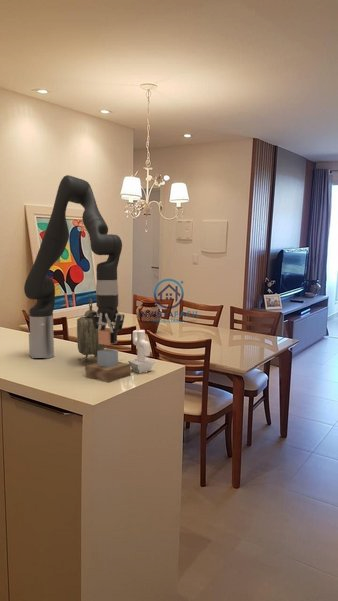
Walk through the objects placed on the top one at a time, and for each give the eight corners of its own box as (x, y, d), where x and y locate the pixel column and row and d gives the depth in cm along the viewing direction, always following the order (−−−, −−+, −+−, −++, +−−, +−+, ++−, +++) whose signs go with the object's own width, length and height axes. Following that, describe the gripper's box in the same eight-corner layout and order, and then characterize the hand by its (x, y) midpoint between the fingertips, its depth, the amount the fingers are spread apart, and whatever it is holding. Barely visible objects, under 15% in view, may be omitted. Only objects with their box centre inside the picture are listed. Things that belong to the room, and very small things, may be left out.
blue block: (97, 365, 158) (97, 350, 158) (107, 362, 162) (107, 348, 162) (107, 367, 155) (107, 352, 155) (118, 364, 159) (117, 350, 159)
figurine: (139, 375, 160) (139, 333, 159) (126, 369, 168) (125, 329, 166) (156, 372, 164) (156, 331, 163) (143, 366, 172) (143, 327, 170)
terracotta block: (107, 341, 161) (107, 328, 161) (117, 343, 159) (116, 330, 158) (98, 343, 158) (98, 330, 157) (108, 345, 155) (107, 332, 155)
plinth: (85, 376, 158) (85, 365, 158) (107, 370, 167) (107, 359, 167) (108, 382, 152) (108, 370, 151) (130, 375, 161) (130, 364, 160)
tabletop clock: (105, 365, 174) (104, 300, 172) (80, 367, 172) (79, 300, 169) (99, 357, 188) (98, 296, 185) (77, 358, 186) (76, 297, 183)
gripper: (84, 292, 158) (85, 341, 159) (115, 295, 149) (115, 346, 151) (100, 291, 164) (100, 338, 165) (130, 293, 155) (130, 342, 157)
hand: (108, 342), depth 158 cm, fingers closed on terracotta block, 4 cm apart
